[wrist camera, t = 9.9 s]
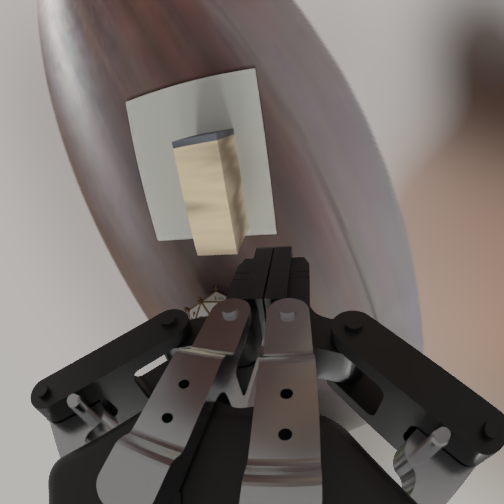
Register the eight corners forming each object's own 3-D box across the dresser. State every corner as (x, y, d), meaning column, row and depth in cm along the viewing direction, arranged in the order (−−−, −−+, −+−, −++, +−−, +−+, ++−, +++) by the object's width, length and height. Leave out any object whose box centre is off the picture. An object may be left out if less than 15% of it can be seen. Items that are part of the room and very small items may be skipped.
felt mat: (276, 232, 30) (276, 234, 30) (159, 239, 33) (158, 241, 33) (255, 68, 22) (254, 68, 22) (127, 101, 25) (125, 101, 25)
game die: (218, 287, 40) (159, 312, 34) (247, 266, 34) (177, 294, 28) (246, 340, 39) (190, 372, 33) (280, 330, 33) (216, 370, 26)
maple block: (233, 128, 25) (248, 227, 30) (196, 134, 26) (214, 229, 31) (216, 133, 20) (237, 254, 25) (171, 141, 21) (197, 255, 26)
